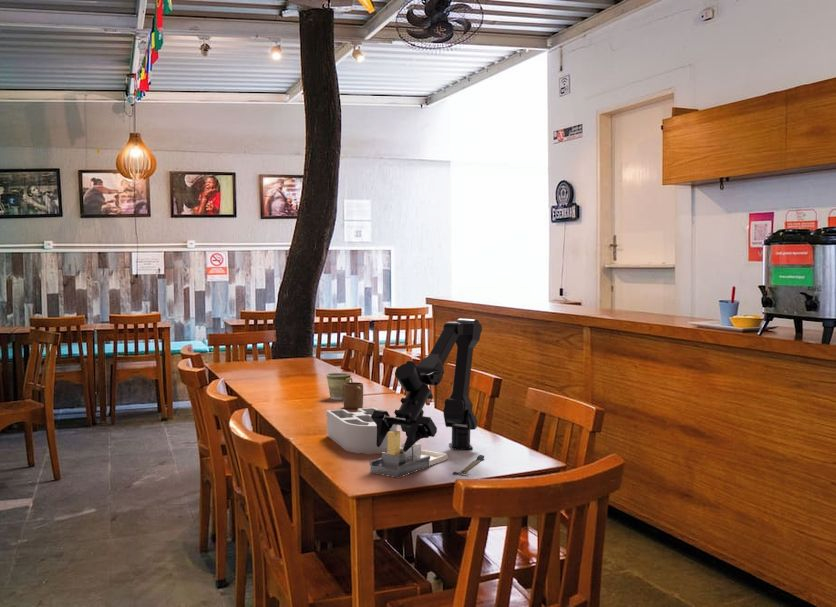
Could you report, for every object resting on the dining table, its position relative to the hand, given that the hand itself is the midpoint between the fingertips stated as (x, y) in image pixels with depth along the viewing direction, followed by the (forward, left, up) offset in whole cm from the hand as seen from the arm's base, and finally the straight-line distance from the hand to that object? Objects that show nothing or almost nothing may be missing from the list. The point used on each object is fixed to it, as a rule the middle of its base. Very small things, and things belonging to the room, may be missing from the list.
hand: (390, 448), depth 210 cm
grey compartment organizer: (-35, -5, -7) cm, 36 cm away
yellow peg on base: (-1, +1, -5) cm, 5 cm away
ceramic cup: (-117, -11, -7) cm, 117 cm away
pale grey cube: (-4, +3, -5) cm, 7 cm away
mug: (-95, -6, -7) cm, 95 cm away
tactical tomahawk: (-6, +24, -7) cm, 26 cm away
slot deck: (-4, +3, -7) cm, 8 cm away
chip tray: (-13, +11, -7) cm, 19 cm away
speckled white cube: (-8, +6, -5) cm, 11 cm away
